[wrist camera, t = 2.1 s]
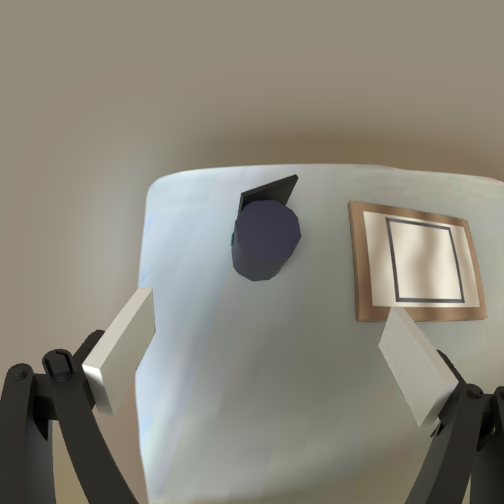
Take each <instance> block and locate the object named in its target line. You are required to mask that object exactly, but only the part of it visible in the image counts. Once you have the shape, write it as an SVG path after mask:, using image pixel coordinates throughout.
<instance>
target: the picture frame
mask: <svg viewBox="0 0 504 504" xmlns="http://www.w3.org/2000/svg"><path fill="white" fill-rule="evenodd" d="M348 207H349V216H350V225H351V236H352V247H353V259H354V274H355V292H356V320H357V321H363V322H387V319H388V316H389V312H390V309H391V307H403V308H404V309H405V311H406V312H407V313H408V314H409V316H410V317H411V318H412V319H413V321H414V322H435V321H466V320H483V319H485V318H487V314H486V307H485V300H484V293H483V287H482V282H481V276H480V271H479V266H478V262H477V257H476V253H475V249H474V245H473V241H472V237H471V233H470V229H469V226H468V222H467V220H462V219H458V218H453V217H447V216H442V215H437V214H431V213H426V212H420V211H415V210H409V209H403V208H397V207H390V206H384V205H377V204H371V203H364V202H357V201H350V203H349V205H348Z"/></svg>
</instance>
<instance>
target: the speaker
mask: <svg viewBox="0 0 504 504" xmlns="http://www.w3.org/2000/svg"><path fill="white" fill-rule="evenodd" d="M297 180H298V176H297V175H293V176H290V177H287V178H284V179H281V180H278V181H275V182H272V183H269V184H266V185H263V186H260V187H257V188H254V189H252V190H249V191H246V192H243V193H241V198H240V204H239V210H238V216H237V220H236V221H235V228H234V232H233V234H232V240H231V246H232V259H233V266H234V268H235V269H236V271H237V272H238V273H239V274H241V275H242V276H244V277H246V278H248V279H249V280H251V281H260V280H269V279H271V278H272V277H274V276H275V275H276V274H277V273H278V271H279V270H280V269H281V268H282V266H283V265H284V264H285V262H286V261H287V260H288V258H289V257H290V256H291V255H292V253H293V251H294V249H295V247H296V245H297V244H298V242H299V240H300V238H301V234H300V228H299V223H298V218H297V216H296V215H295V214H294V212H293V211H292V210H291V209H289V208H287V207H286V206H285V205H286V203H287V201H288V199H289V197H290V195H291V193H292V190H293V188H294V186H295V184H296V182H297Z"/></svg>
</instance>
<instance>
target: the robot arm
mask: <svg viewBox="0 0 504 504" xmlns="http://www.w3.org/2000/svg"><path fill="white" fill-rule="evenodd" d="M155 332H156V329H155V318H154V305H153V290H152V289H150V288H142V287H139V288H138V289H137V291H136V292H135V293H134V295H133V296H132V297H131V298H130V300H129V301H128V302H127V304H126V305H125V306H124V308H123V309H122V310H121V312H120V313H119V314H118V316H117V317H116V318H115V319H114V321H113V322H112V324H111V325H110V326H109V328H108V329H107V330H106V331H103V330H96V331H95V332H93V333H91V334H90V335H89V336H88V337H87V338H86V340H85V341H84V343H83V344H82V345H81V347H80V348H79V349H78V350H77V352H76V353H75V354H74V355H73V356H72V355H71V353H70V352H69V351H67V350H64V349H55V350H52V351H49V352H48V353H46V354H45V355H44V357H43V358H42V364H43V367H44V370H45V372H46V374H35V373H34V372H33V369H32V368H31V366H29V365H28V364H24V363H21V364H16V365H14V366H12V367H11V368H10V369H9V370H8V372H7V375H6V378H5V382H4V386H3V391H2V395H1V400H0V504H56V499H55V488H54V476H53V456H52V420H58V421H59V425H60V428H61V431H62V434H63V438H64V441H65V444H66V447H67V450H68V453H69V456H70V458H71V461H72V464H73V467H74V469H75V472H76V474H77V477H78V479H79V482H80V484H81V486H82V488H83V491H84V493H85V495H86V498H87V500H88V502H89V504H139V503H138V502H137V500H136V498H135V497H134V495H133V493H132V492H131V490H130V489H129V487H128V485H127V483H126V481H125V480H124V478H123V476H122V474H121V472H120V471H119V469H118V467H117V465H116V463H115V461H114V459H113V457H112V455H111V453H110V451H109V449H108V447H107V445H106V443H105V440H104V438H103V436H102V434H101V432H100V429H99V427H98V425H97V422H96V420H95V417H94V415H93V413H92V409H93V407H94V405H95V404H96V407H97V409H98V412H99V413H103V414H106V415H110V416H115V415H116V412H117V410H118V408H119V406H120V404H121V401H122V399H123V397H124V395H125V393H126V391H127V389H128V387H129V385H130V383H131V381H132V378H133V376H134V374H135V372H136V370H137V368H138V366H139V364H140V362H141V360H142V358H143V356H144V354H145V352H146V350H147V348H148V346H149V344H150V342H151V340H152V338H153V336H154V334H155ZM378 347H379V348H380V350H381V352H382V354H383V356H384V358H385V360H386V362H387V364H388V365H389V367H390V369H391V371H392V373H393V375H394V377H395V379H396V381H397V383H398V385H399V387H400V389H401V391H402V393H403V395H404V397H405V399H406V401H407V403H408V405H409V407H410V409H411V411H412V413H413V416H414V418H415V420H416V422H417V424H418V426H419V427H424V426H429V425H432V424H433V423H434V421H435V420H436V418H437V417H439V419H440V421H441V422H440V423H439V425H438V426H437V427H436V429H435V430H434V432H433V433H432V434H431V436H430V437H432V436H433V435H434V437H433V440H432V443H431V445H430V448H429V451H428V453H427V456H426V458H425V461H424V463H423V465H422V468H421V470H420V472H419V475H418V477H417V479H416V481H415V483H414V485H413V488H412V490H411V492H410V494H409V496H408V498H407V500H406V502H405V503H404V504H462V501H463V498H464V495H465V491H466V488H467V485H468V481H469V477H470V474H471V489H470V504H504V386H499V387H497V389H496V390H495V392H494V393H493V394H484V393H483V391H482V389H480V388H479V387H478V386H476V385H474V384H466V382H465V381H464V379H463V378H462V377H461V375H460V374H459V372H458V371H457V370H456V368H454V366H453V364H452V363H451V361H450V360H449V359H448V357H447V356H446V355H445V354H443V353H442V352H441V351H440V350H436V349H435V348H434V347H433V345H432V344H431V343H430V341H429V340H428V339H427V337H426V336H425V335H424V334H423V332H422V331H421V330H420V328H419V327H418V326H417V324H416V323H415V322H414V321H413V319H412V318H411V317H410V316H409V314H408V313H407V312H406V311H405V309H404V308H403V307H391V309H390V312H389V316H388V319H387V322H386V325H385V328H384V331H383V334H382V337H381V340H380V343H379V345H378ZM494 429H495V432H494Z"/></svg>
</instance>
